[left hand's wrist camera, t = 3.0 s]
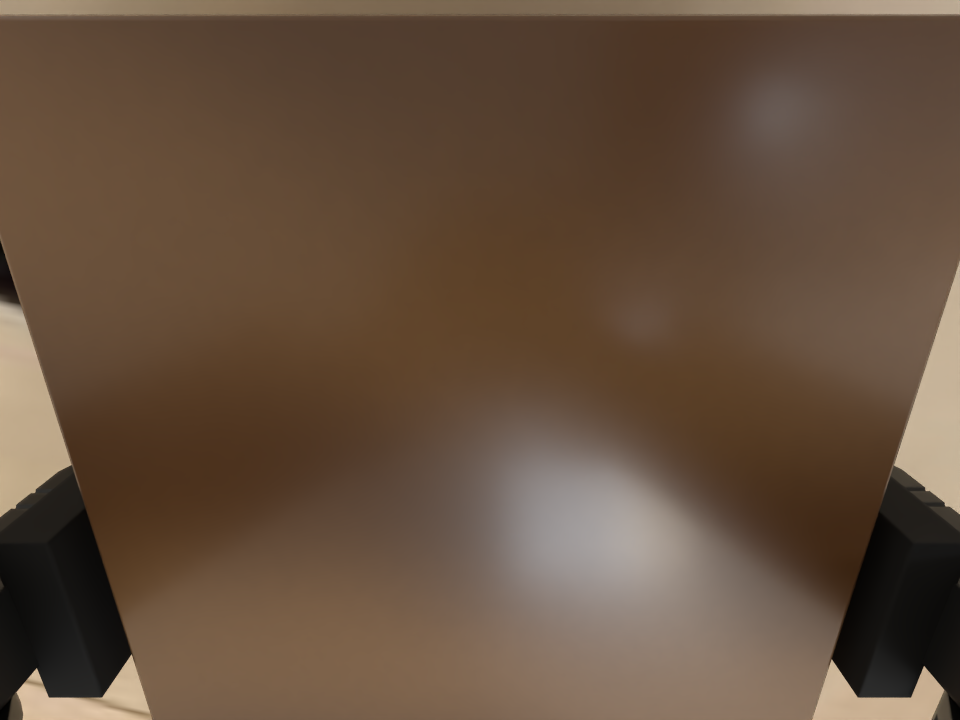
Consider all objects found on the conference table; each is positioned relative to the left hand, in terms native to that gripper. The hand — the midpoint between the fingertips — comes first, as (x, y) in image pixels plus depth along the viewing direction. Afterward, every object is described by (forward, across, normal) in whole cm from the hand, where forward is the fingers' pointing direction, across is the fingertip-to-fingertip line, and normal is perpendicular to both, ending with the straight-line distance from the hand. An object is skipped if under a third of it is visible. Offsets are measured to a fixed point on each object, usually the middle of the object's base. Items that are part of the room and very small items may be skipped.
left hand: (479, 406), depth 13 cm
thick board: (+1, 0, -34) cm, 34 cm away
